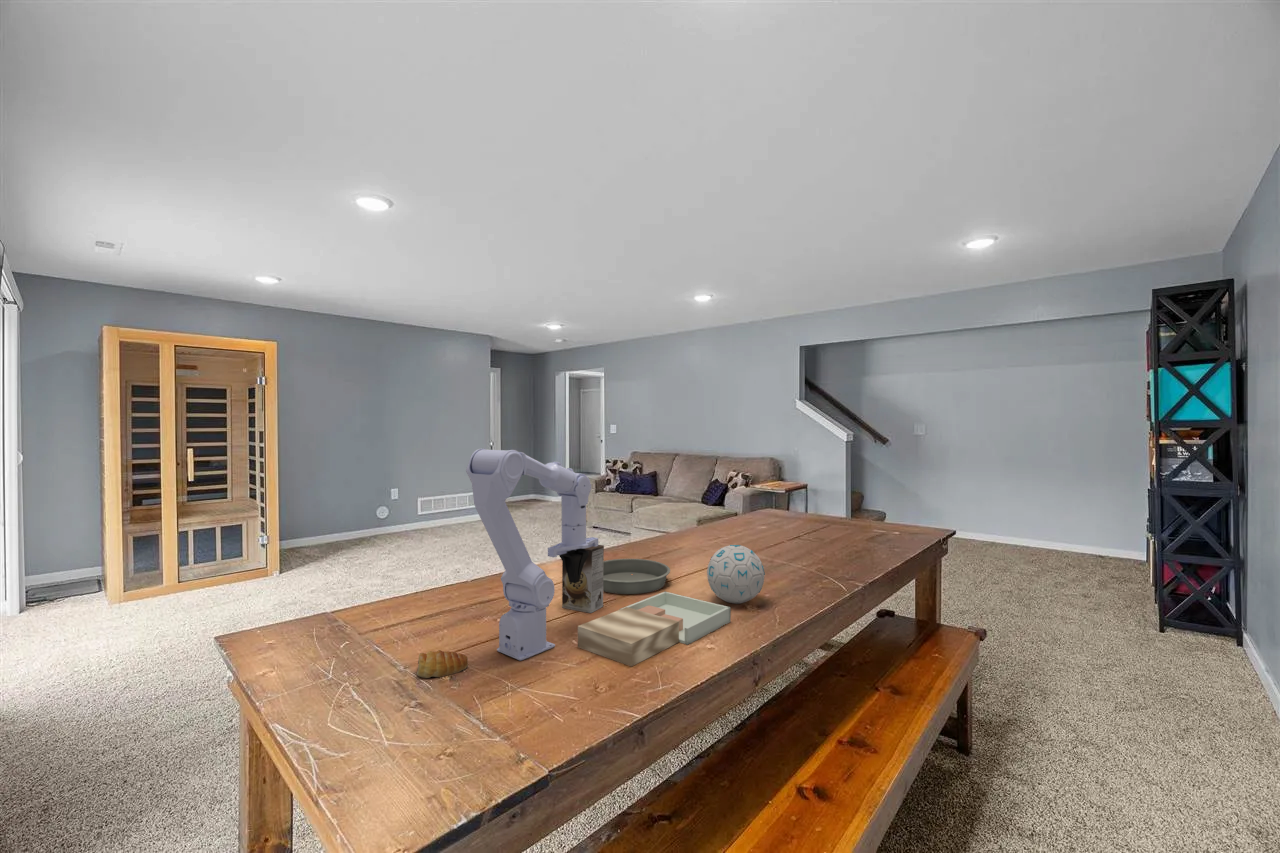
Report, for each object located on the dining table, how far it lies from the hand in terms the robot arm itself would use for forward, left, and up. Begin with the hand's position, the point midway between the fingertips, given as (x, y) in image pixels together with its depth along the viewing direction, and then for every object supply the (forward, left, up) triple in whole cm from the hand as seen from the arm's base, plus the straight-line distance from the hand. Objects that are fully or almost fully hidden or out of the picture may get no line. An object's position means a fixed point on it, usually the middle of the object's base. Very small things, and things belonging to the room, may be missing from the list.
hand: (574, 581), depth 135 cm
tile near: (+11, -20, -10) cm, 24 cm away
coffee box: (+11, +8, -11) cm, 17 cm away
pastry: (-33, +3, -11) cm, 35 cm away
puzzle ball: (+40, -20, -11) cm, 46 cm away
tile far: (+13, -13, -7) cm, 19 cm away
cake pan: (+35, +13, -11) cm, 39 cm away
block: (0, -17, -10) cm, 20 cm away
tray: (+17, -17, -10) cm, 26 cm away
